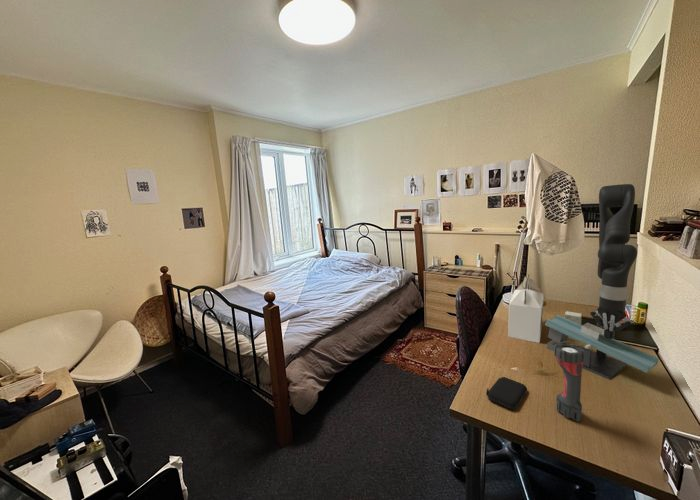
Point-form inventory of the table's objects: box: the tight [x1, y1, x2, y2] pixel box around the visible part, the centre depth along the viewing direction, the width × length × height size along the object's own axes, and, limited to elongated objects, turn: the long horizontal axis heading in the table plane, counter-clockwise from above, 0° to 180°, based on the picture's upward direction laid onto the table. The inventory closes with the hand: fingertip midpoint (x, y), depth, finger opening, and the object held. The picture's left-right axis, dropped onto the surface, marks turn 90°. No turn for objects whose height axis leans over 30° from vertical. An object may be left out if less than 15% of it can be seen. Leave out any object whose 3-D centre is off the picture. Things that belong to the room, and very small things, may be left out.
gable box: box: [507, 274, 545, 344], centre depth 145 cm, size 22×13×28 cm, turn 144°
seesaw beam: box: [544, 314, 660, 374], centre depth 117 cm, size 14×34×9 cm, turn 27°
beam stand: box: [546, 339, 628, 380], centre depth 121 cm, size 15×24×8 cm, turn 27°
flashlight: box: [553, 341, 584, 423], centre depth 92 cm, size 8×8×23 cm
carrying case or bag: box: [485, 376, 528, 411], centre depth 104 cm, size 11×3×15 cm
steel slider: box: [580, 322, 604, 342], centre depth 116 cm, size 5×6×5 cm
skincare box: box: [563, 311, 583, 341], centre depth 136 cm, size 6×4×12 cm
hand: (608, 338), depth 112 cm, fingers closed
